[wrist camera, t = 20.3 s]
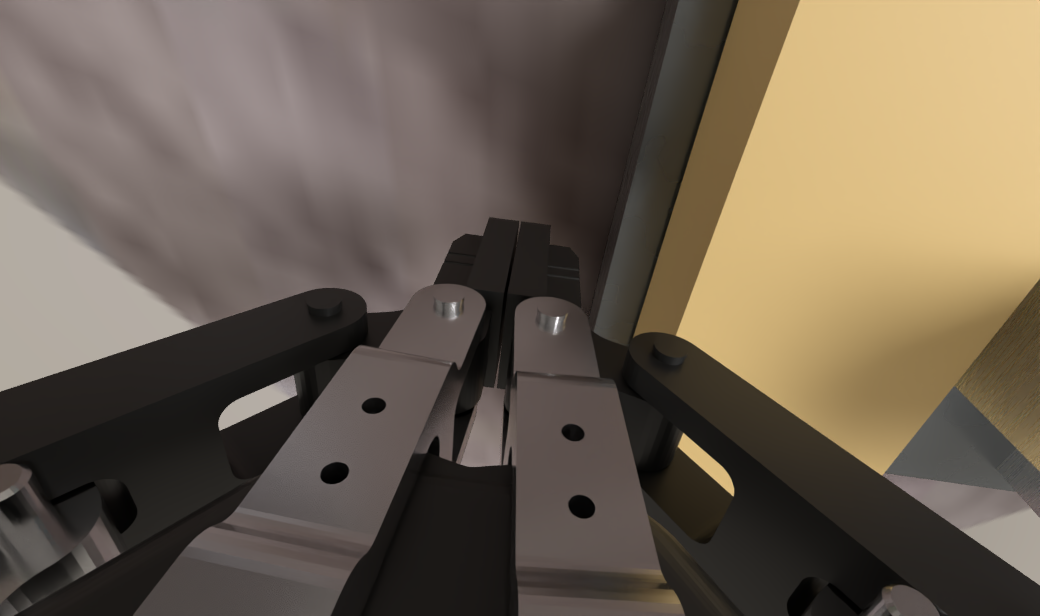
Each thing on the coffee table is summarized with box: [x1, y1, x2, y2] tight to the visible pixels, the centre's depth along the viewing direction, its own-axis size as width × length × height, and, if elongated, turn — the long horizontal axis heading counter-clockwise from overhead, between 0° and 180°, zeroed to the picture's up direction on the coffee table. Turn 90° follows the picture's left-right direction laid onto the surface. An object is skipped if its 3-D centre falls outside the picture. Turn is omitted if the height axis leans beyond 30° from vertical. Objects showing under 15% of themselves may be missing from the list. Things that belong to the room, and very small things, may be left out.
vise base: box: [588, 0, 1040, 517], centre depth 14 cm, size 20×16×5 cm
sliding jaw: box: [633, 0, 1040, 497], centre depth 13 cm, size 7×14×3 cm, turn 173°
